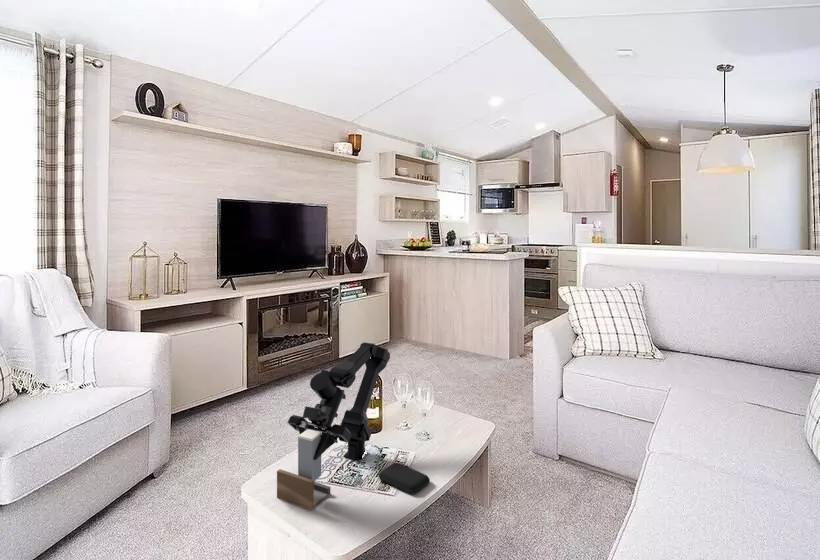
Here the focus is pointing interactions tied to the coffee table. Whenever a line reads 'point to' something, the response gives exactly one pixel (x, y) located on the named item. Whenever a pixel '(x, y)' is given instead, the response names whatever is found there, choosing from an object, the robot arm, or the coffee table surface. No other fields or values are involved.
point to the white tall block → (309, 454)
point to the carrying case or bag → (404, 478)
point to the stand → (300, 490)
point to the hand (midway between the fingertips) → (306, 457)
